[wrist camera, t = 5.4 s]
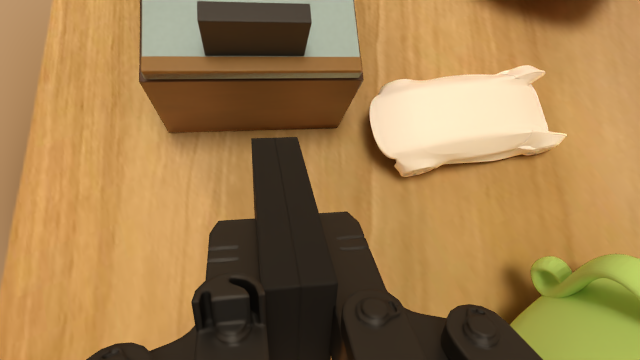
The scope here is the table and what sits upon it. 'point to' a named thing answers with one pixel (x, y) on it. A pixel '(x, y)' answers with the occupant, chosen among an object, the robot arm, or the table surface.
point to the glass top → (249, 39)
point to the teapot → (584, 310)
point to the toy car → (460, 120)
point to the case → (249, 101)
